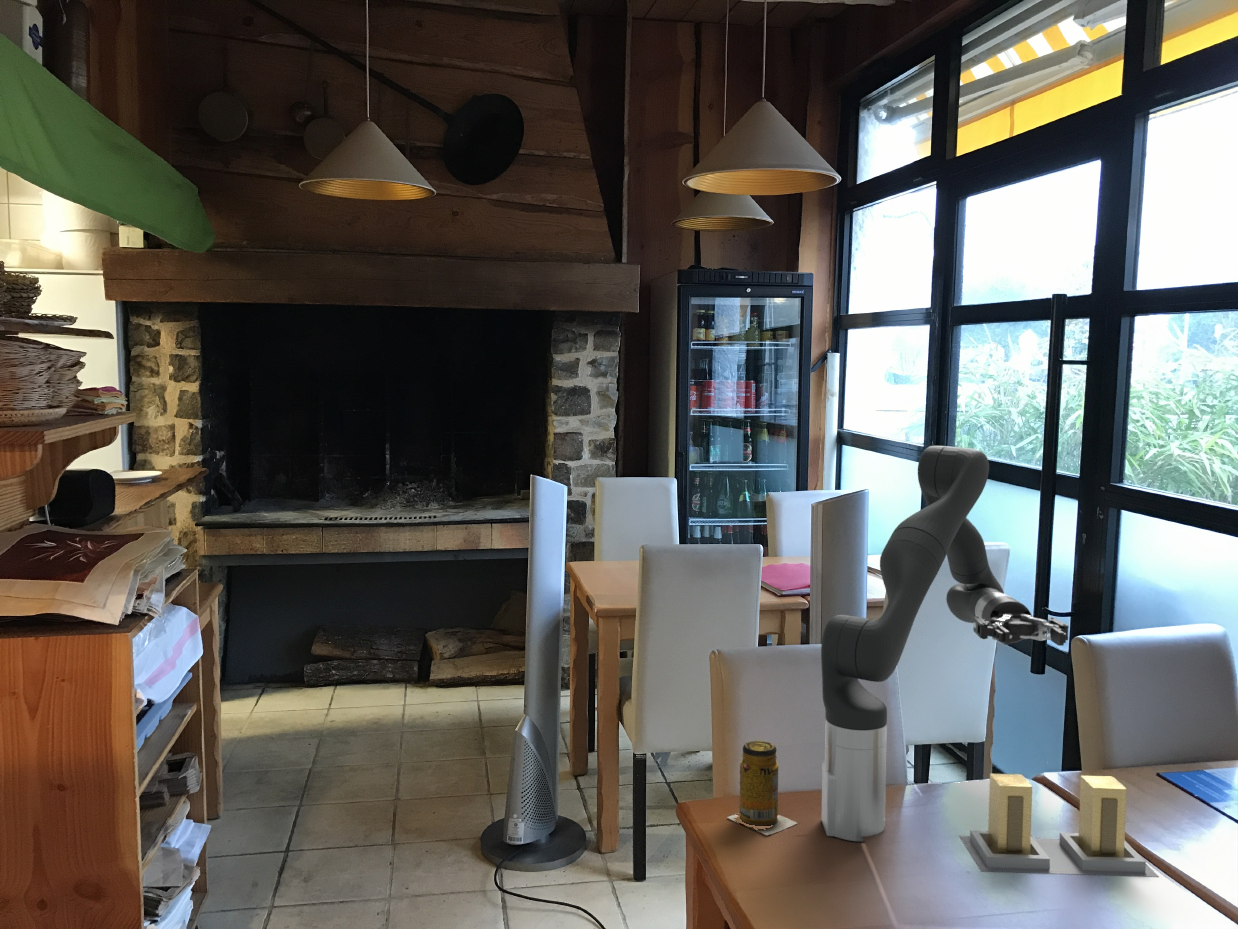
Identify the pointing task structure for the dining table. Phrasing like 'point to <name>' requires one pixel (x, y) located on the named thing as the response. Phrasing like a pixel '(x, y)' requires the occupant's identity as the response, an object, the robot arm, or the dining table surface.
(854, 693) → the robot arm
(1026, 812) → the block
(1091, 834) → the block
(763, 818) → the condiment
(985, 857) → the grey double socket tray
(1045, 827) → the dining table surface
